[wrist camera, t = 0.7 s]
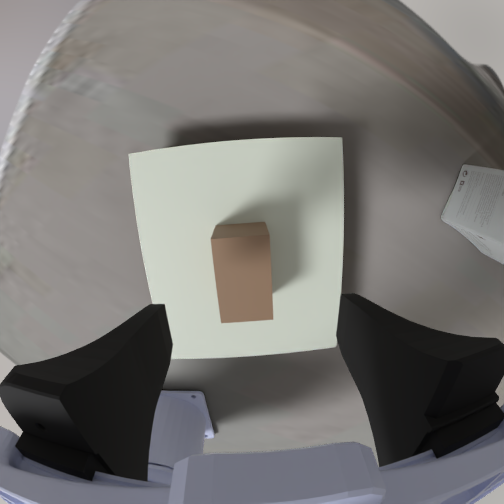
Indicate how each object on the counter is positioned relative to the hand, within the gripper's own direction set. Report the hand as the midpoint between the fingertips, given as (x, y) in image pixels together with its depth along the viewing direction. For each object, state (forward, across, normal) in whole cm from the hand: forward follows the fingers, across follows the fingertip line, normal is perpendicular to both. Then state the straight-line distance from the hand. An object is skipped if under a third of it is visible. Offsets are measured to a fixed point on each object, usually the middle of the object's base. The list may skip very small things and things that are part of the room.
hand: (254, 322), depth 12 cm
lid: (+8, 0, 0) cm, 8 cm away
